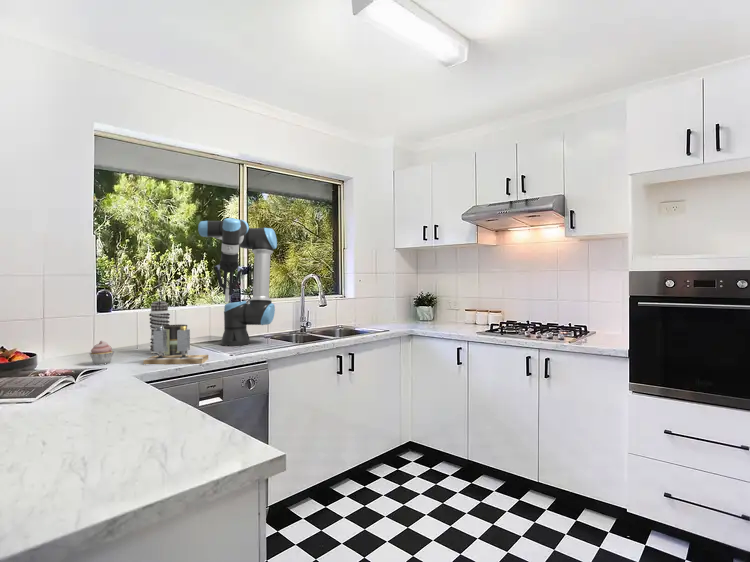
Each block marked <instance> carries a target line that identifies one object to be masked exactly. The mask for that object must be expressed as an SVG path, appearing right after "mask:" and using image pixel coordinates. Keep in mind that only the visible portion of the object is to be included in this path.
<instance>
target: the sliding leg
mask: <svg viewBox="0 0 750 562" xmlns="http://www.w3.org/2000/svg"><path fill="white" fill-rule="evenodd" d="M190 337H191V331H190V329H189V328H187V329H186V326H181V329H180V330H177V351H182V357H185V356H186V353H185V351H187V352H188V351H190V350H191V346H190V345H191V340H190V339H191V338H190Z"/></svg>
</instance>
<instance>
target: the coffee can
mask: <svg viewBox="0 0 750 562" xmlns="http://www.w3.org/2000/svg"><path fill="white" fill-rule="evenodd" d="M181 326H186V329H188V324H169V325H166V326H164V330H166V337H167V350H166V351H164V353H163V356H175V355H182V351H177V330H180V329H181ZM185 353H186V355H188V351H185Z"/></svg>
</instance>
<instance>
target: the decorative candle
mask: <svg viewBox="0 0 750 562" xmlns="http://www.w3.org/2000/svg"><path fill="white" fill-rule="evenodd" d="M168 305H169V304H168V303H167V302H166V301H164V300H162V301H161V300H160V301H157V300H156V301H152V303H151V304H150V313H149V314H148V316H149V324H150V325H149V327H150V330H151V332H150V339H149V340H150V341H149V342H150V345H149V346H150V349H149V350H150V354H152V353H158V352H154V347H153V331H155V330H157V327H158V326H163V330H164V326H166V325H170V321H169V320H170V318H171V317H170V315H171V314H170V313H169V306H168ZM162 354H164V351H163V352H162Z"/></svg>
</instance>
